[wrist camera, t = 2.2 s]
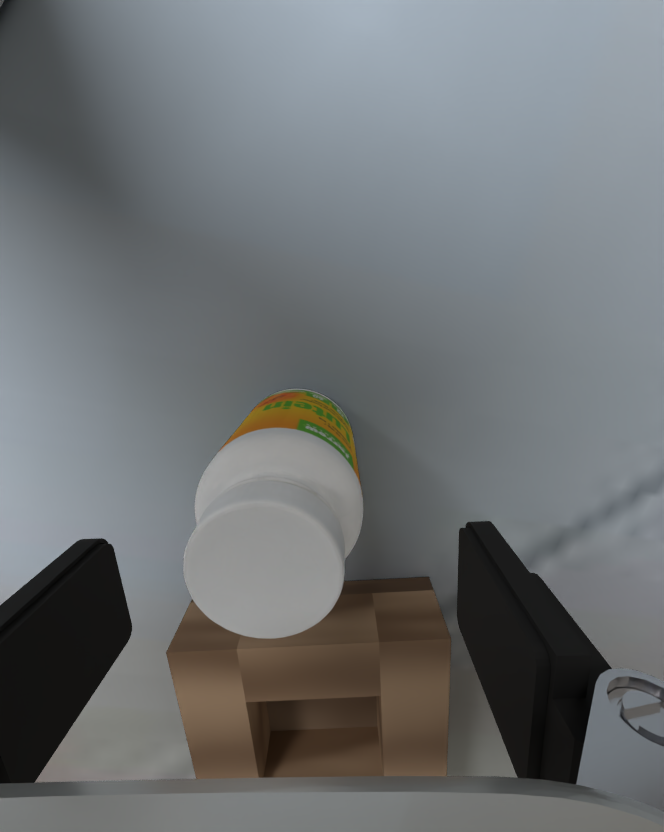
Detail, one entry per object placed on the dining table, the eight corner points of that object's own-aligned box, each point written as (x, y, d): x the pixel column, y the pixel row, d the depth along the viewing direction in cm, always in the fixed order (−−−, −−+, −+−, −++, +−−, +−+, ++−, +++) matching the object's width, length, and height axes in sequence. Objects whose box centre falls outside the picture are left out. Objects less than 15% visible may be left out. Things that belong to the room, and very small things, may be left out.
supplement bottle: (366, 401, 18) (403, 503, 8) (337, 499, 19) (342, 679, 10) (256, 374, 17) (166, 448, 8) (235, 475, 19) (139, 638, 9)
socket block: (197, 589, 21) (166, 652, 17) (428, 576, 20) (451, 638, 17) (229, 752, 24) (210, 835, 20) (426, 743, 24) (444, 826, 20)
